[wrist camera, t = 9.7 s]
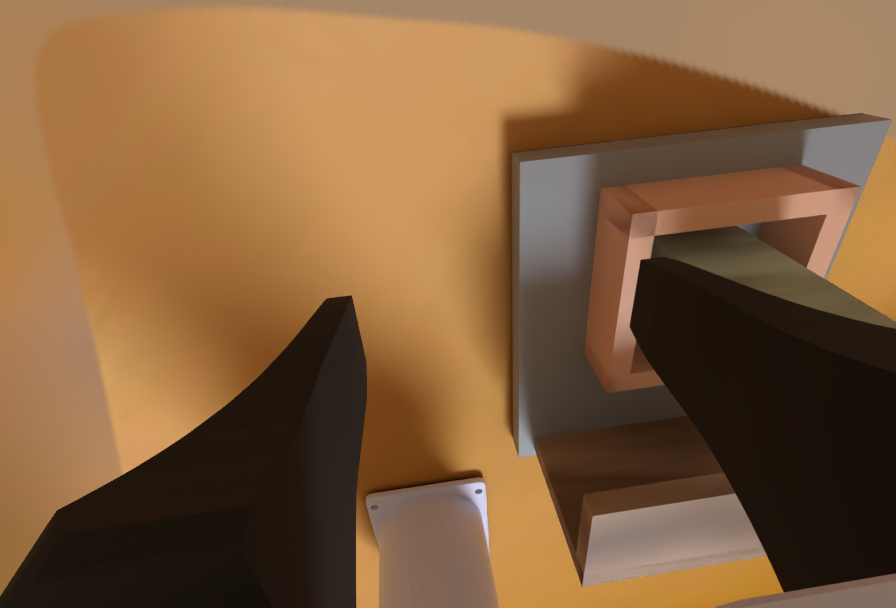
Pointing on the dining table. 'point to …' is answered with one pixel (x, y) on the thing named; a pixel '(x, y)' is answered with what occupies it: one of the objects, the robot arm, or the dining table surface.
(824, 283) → the peg
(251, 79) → the dining table surface
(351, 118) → the dining table surface
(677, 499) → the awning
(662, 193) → the socket stand
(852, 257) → the dining table surface
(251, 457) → the robot arm
